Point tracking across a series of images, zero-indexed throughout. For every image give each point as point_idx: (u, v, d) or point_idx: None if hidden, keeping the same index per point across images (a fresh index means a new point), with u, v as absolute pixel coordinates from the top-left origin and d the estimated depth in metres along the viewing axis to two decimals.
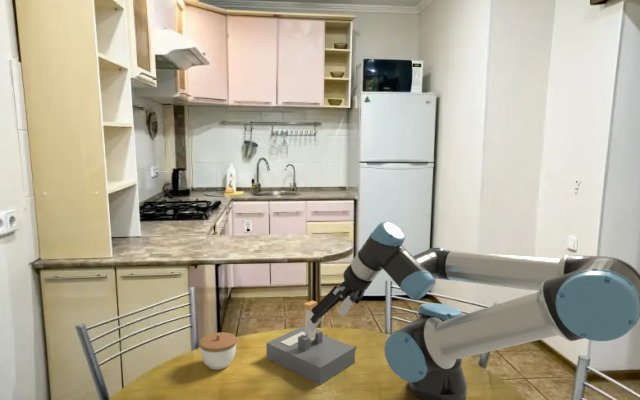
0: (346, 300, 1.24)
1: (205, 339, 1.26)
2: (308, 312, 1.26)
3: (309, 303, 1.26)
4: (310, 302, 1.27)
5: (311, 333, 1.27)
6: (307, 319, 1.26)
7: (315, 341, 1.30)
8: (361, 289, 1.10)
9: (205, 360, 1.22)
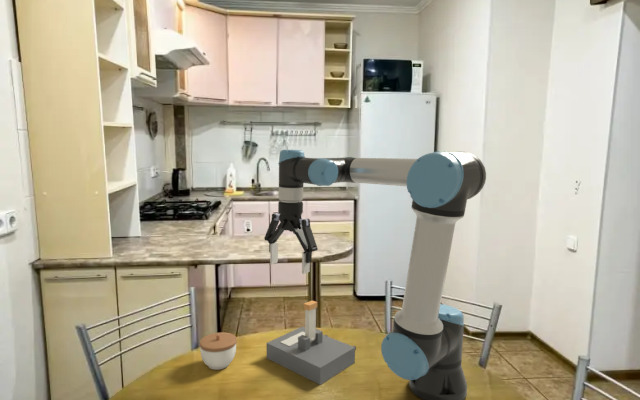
0: None
1: (205, 339, 1.26)
2: (308, 312, 1.26)
3: (309, 303, 1.26)
4: (310, 302, 1.27)
5: (311, 333, 1.27)
6: (307, 319, 1.26)
7: (315, 341, 1.30)
8: (279, 210, 1.27)
9: (205, 360, 1.22)
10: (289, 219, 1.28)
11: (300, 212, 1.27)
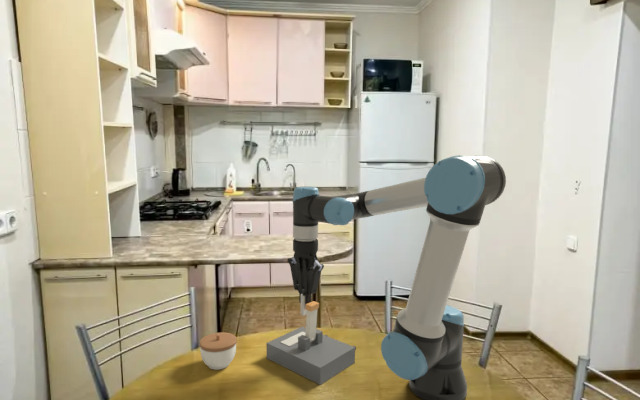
0: None
1: (205, 339, 1.26)
2: (310, 313, 1.25)
3: (311, 304, 1.26)
4: (312, 303, 1.27)
5: (311, 333, 1.27)
6: (308, 320, 1.26)
7: (315, 341, 1.30)
8: (293, 249, 1.25)
9: (205, 360, 1.22)
10: (304, 258, 1.25)
11: (315, 250, 1.24)
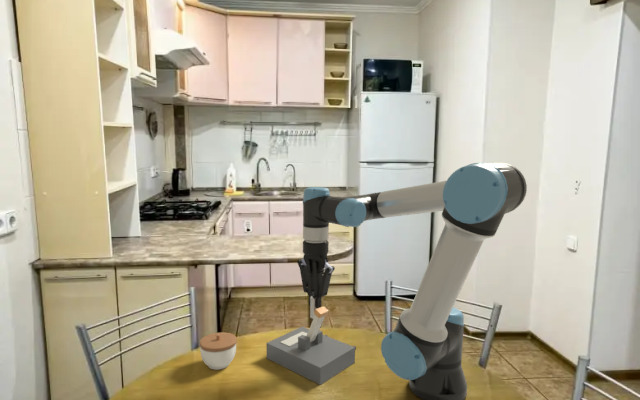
0: None
1: (205, 339, 1.26)
2: (317, 319, 1.24)
3: (321, 310, 1.24)
4: (322, 309, 1.24)
5: (313, 335, 1.27)
6: (314, 324, 1.25)
7: (315, 341, 1.30)
8: (303, 251, 1.22)
9: (205, 360, 1.22)
10: (314, 260, 1.23)
11: (326, 252, 1.22)
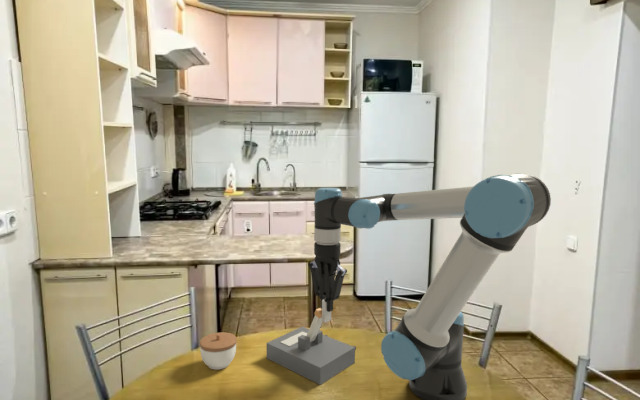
0: None
1: (205, 339, 1.26)
2: (318, 319, 1.23)
3: (321, 310, 1.24)
4: None
5: (313, 335, 1.27)
6: (314, 324, 1.25)
7: (315, 341, 1.30)
8: (315, 253, 1.19)
9: (205, 360, 1.22)
10: (326, 262, 1.20)
11: (338, 254, 1.19)
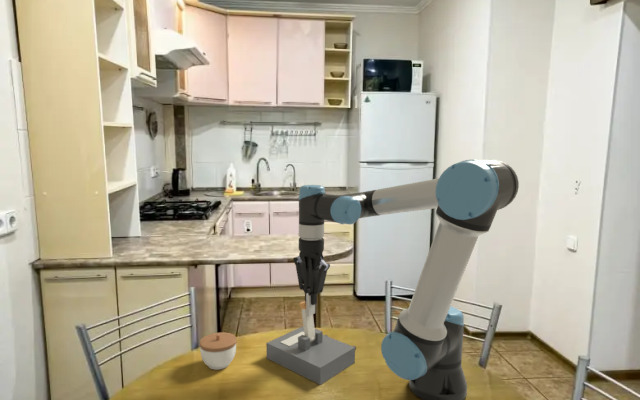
0: None
1: (205, 339, 1.26)
2: (305, 311, 1.27)
3: (304, 302, 1.28)
4: None
5: (310, 332, 1.28)
6: (304, 318, 1.27)
7: (315, 341, 1.30)
8: (299, 248, 1.23)
9: (205, 360, 1.22)
10: (310, 257, 1.24)
11: (321, 250, 1.23)
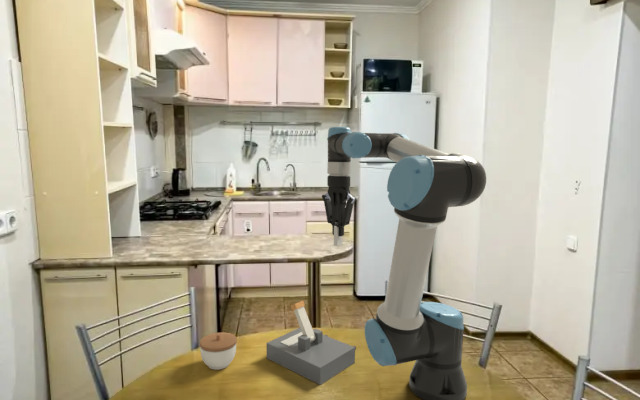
0: None
1: (205, 339, 1.26)
2: (297, 311, 1.29)
3: None
4: None
5: (308, 331, 1.28)
6: (299, 319, 1.29)
7: (315, 341, 1.30)
8: (328, 184, 1.37)
9: (205, 360, 1.22)
10: (338, 192, 1.38)
11: (348, 185, 1.37)
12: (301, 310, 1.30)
